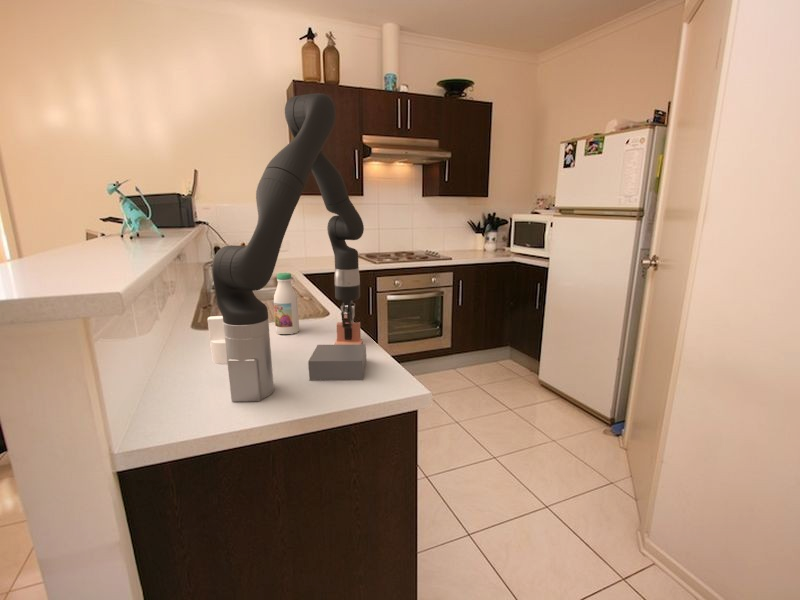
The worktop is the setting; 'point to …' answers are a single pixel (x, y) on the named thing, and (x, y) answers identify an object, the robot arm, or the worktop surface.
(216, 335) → the base with upright slab
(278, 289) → the milk bottle
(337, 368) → the grey square block
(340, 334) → the peach l-shaped block
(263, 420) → the worktop surface
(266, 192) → the robot arm
